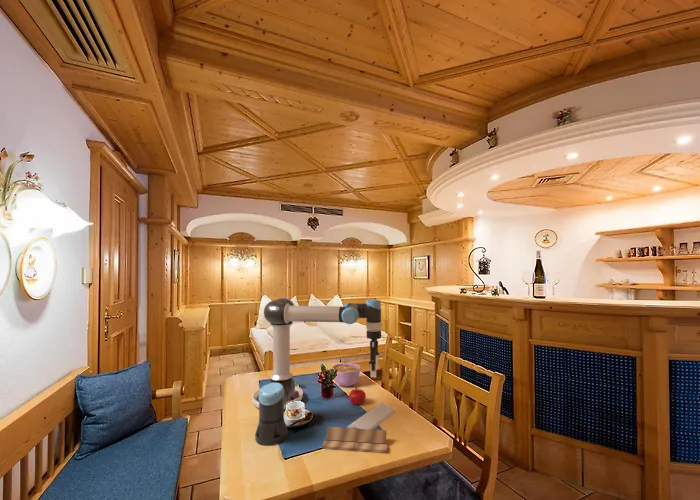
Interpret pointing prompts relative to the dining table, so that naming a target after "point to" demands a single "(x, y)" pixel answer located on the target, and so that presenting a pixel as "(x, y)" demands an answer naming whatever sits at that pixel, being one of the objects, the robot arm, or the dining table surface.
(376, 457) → the dining table surface
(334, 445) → the laid row
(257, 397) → the bowl
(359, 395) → the pomegranate
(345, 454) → the dining table surface
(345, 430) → the plank
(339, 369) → the bowl of food
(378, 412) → the crown molding
